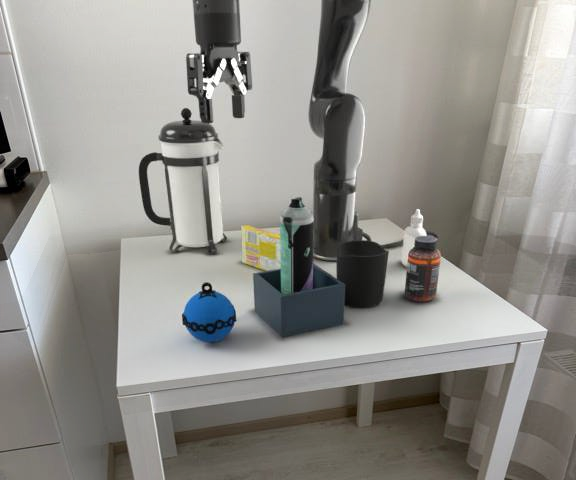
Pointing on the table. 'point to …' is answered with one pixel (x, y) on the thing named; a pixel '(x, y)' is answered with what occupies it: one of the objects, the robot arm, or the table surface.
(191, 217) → the coffee press
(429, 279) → the supplement bottle
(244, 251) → the candy box
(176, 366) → the table surface
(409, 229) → the eye dropper bottle
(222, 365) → the table surface
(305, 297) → the bin
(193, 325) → the ornament
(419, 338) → the table surface
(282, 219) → the spray can
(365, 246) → the pen holder
